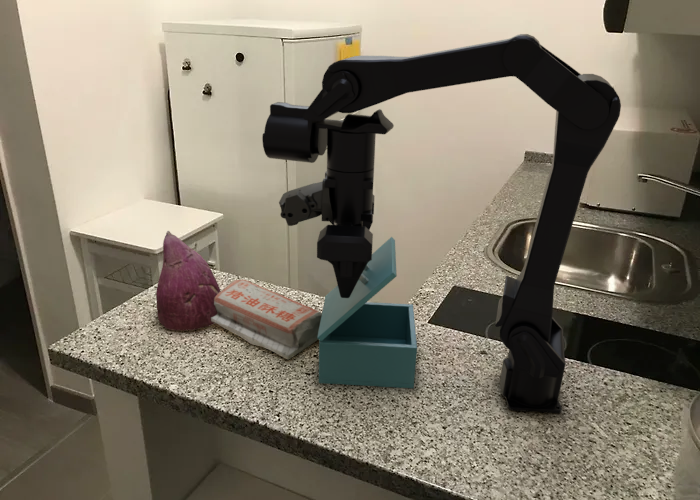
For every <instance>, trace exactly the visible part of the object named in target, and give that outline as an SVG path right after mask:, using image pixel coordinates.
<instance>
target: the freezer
mask: <svg viewBox="0 0 700 500" xmlns="http://www.w3.org/2000/svg"><path fill="white" fill-rule="evenodd" d="M415 322H416V321H415V312H414V304H413V303H411V304H410V303H409V304H408V303H392V302H373V301H367V302H366V303H365V304H364V305H363V306H362V307H360V308H359V309H358V310H357V311H356V312H355V313H353V314H352V315H351V316H350V317H349V318H348V319H346V320H345V321H344V322H343V323H342V324H341V325H340V326H338V327H337V328H336V329H335V330H334V331H333V332H331V333H330V334H329V335H328V336H327V337H326V338H324V339H323V340H322V341H320V340H318V384H327V385H346V386H347V385H348V386H362V387H363V386H365V387H379V388H380V387H381V388H402V389H415V376H416V368H417V354H418V343H417V332H416V323H415Z"/></svg>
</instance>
